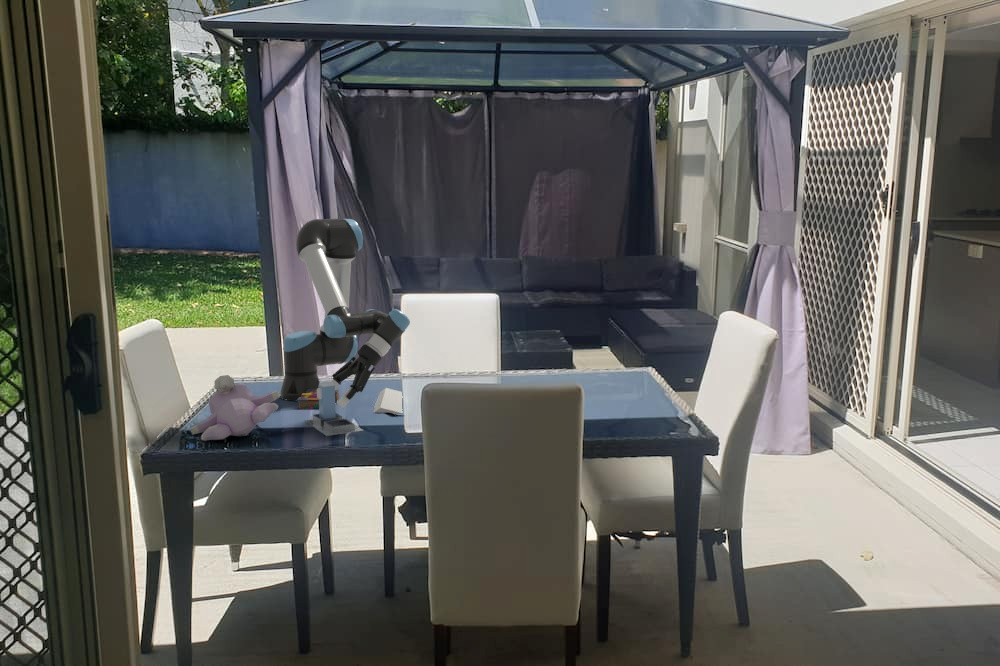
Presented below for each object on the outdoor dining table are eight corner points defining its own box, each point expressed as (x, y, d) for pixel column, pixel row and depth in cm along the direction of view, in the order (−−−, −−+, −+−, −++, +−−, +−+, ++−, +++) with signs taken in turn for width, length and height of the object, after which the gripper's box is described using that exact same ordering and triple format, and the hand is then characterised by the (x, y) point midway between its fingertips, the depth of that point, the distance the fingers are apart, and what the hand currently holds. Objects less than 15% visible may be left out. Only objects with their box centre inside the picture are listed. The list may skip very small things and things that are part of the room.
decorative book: (339, 401, 311) (339, 388, 310) (329, 413, 295) (328, 399, 294) (307, 401, 311) (307, 387, 310) (296, 413, 295) (295, 398, 295)
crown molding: (405, 417, 292) (405, 407, 291) (368, 418, 291) (368, 407, 290) (408, 397, 320) (408, 387, 320) (374, 397, 319) (374, 388, 319)
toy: (194, 434, 284) (203, 465, 257) (173, 388, 278) (179, 414, 251) (278, 398, 292) (295, 424, 265) (259, 352, 287) (274, 374, 260)
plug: (317, 421, 279) (315, 383, 277) (331, 419, 282) (330, 381, 280) (321, 424, 276) (320, 385, 274) (335, 422, 278) (334, 383, 276)
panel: (304, 424, 280) (304, 414, 280) (339, 419, 286) (339, 409, 286) (326, 439, 263) (326, 429, 263) (363, 433, 270) (363, 423, 269)
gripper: (397, 364, 274) (355, 417, 269) (365, 351, 295) (325, 400, 290) (382, 349, 271) (338, 402, 265) (350, 337, 291) (309, 387, 286)
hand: (331, 401), depth 277 cm, fingers open, 13 cm apart
